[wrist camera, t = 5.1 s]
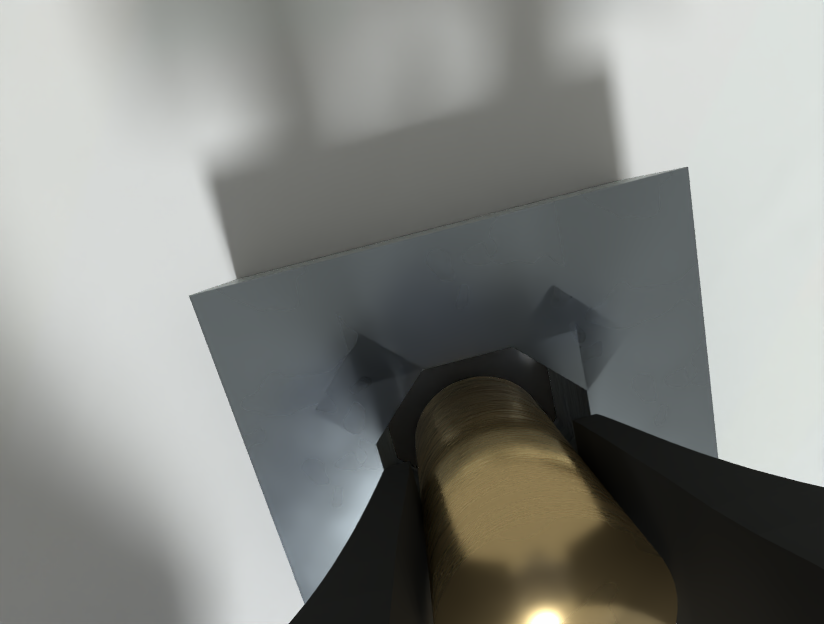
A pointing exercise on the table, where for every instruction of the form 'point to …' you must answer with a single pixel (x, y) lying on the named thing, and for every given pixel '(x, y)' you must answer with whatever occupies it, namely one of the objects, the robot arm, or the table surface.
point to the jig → (460, 341)
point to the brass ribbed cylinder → (525, 520)
